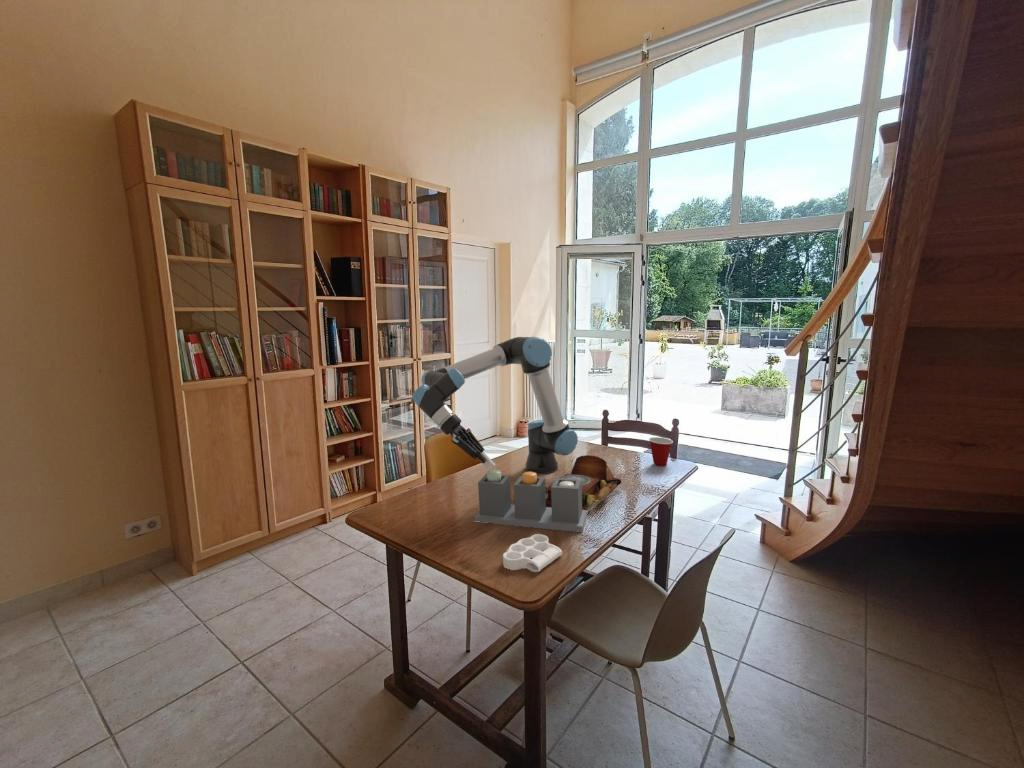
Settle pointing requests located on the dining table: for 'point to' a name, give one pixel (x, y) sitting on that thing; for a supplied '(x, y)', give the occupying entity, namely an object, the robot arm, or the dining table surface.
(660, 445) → the plastic cup
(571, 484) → the cream button
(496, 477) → the sage button
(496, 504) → the button stand
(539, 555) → the white brass knuckles
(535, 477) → the orange button
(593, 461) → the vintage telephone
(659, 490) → the dining table surface
